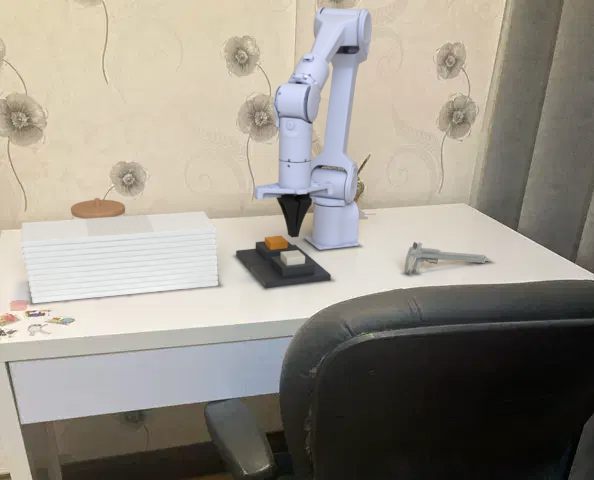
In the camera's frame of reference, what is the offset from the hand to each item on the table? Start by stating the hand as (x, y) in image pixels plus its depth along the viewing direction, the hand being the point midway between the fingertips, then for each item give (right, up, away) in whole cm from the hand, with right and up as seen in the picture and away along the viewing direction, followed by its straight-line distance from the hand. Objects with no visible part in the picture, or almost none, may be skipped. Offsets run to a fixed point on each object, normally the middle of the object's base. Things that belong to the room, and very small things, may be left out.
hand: (293, 235), depth 122 cm
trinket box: (-40, +2, +17) cm, 44 cm away
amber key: (-4, 0, +10) cm, 11 cm away
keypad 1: (-4, -2, +11) cm, 12 cm away
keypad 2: (-1, -7, +4) cm, 8 cm away
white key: (0, -5, +3) cm, 5 cm away
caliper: (+31, -4, +10) cm, 33 cm away
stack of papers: (-31, -9, -1) cm, 32 cm away
